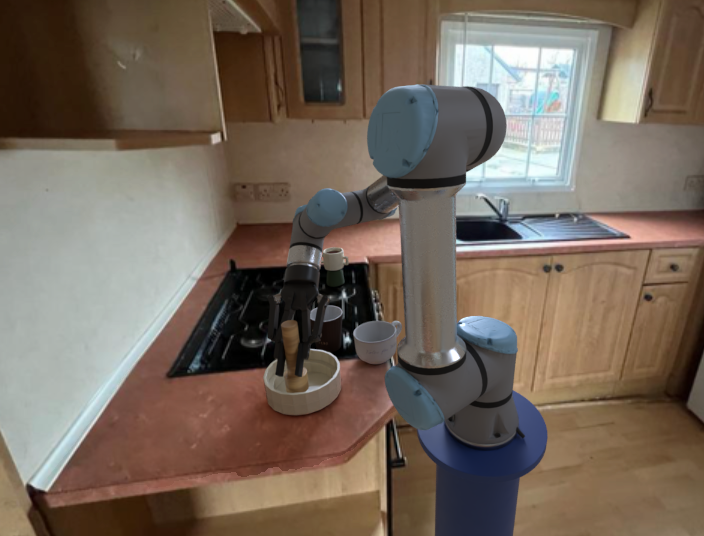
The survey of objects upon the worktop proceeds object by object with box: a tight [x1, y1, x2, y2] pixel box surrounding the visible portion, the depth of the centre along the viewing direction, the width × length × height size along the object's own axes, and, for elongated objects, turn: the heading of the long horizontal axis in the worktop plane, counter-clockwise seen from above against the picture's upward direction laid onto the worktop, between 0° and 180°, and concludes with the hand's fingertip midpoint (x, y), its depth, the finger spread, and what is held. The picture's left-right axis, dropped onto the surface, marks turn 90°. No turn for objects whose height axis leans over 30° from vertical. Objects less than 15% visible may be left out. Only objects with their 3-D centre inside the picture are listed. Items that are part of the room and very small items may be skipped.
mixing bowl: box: [262, 348, 342, 416], centre depth 91 cm, size 16×16×6 cm
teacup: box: [352, 320, 403, 365], centre depth 104 cm, size 14×11×8 cm
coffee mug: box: [310, 305, 343, 354], centre depth 109 cm, size 12×9×10 cm
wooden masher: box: [281, 319, 309, 393], centre depth 87 cm, size 5×5×16 cm
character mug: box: [321, 246, 349, 288], centre depth 144 cm, size 11×7×13 cm, turn 77°
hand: (288, 375), depth 84 cm, fingers closed on wooden masher, 3 cm apart
